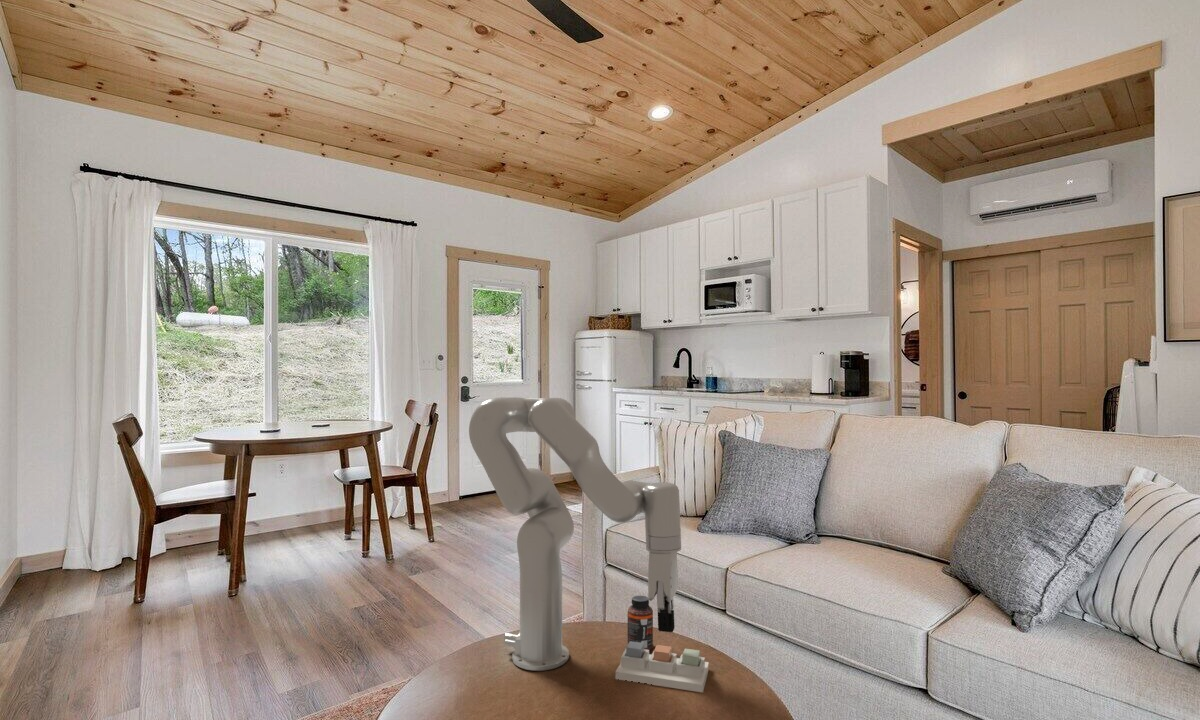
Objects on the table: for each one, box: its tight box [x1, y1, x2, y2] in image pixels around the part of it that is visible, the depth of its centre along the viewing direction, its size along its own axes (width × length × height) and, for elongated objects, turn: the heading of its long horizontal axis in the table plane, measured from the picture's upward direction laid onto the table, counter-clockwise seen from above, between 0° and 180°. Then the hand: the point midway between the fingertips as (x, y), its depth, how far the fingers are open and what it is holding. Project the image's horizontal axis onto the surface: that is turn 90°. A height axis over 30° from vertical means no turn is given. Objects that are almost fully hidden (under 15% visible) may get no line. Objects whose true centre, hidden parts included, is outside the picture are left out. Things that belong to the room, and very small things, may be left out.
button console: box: [614, 648, 710, 693], centre depth 122 cm, size 18×10×4 cm, turn 73°
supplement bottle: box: [627, 595, 654, 651], centre depth 134 cm, size 6×6×11 cm
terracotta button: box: [653, 644, 673, 662], centre depth 122 cm, size 3×3×2 cm
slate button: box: [625, 641, 644, 658], centre depth 123 cm, size 3×3×2 cm
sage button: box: [682, 648, 701, 666], centre depth 120 cm, size 3×3×2 cm
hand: (666, 630), depth 122 cm, fingers closed
